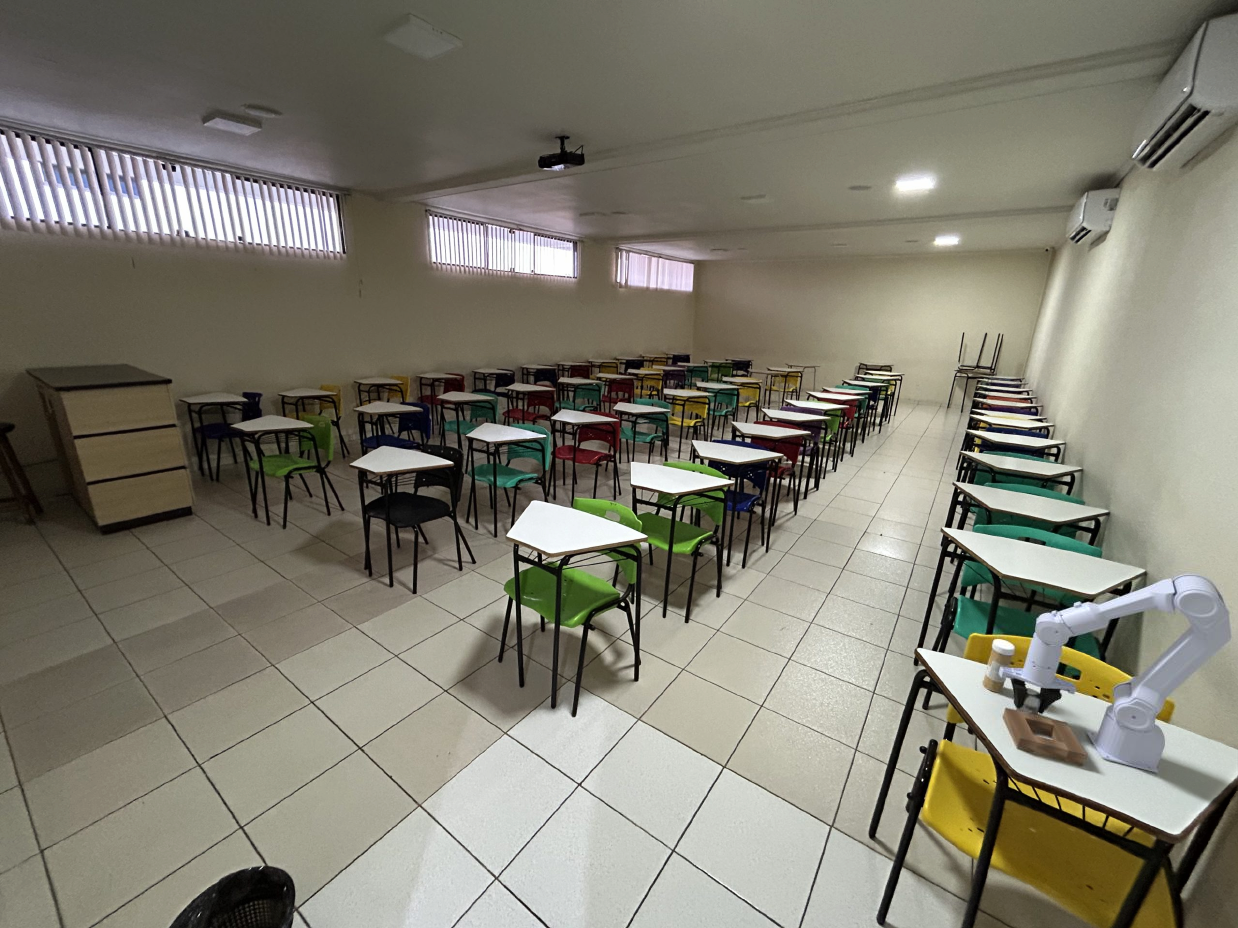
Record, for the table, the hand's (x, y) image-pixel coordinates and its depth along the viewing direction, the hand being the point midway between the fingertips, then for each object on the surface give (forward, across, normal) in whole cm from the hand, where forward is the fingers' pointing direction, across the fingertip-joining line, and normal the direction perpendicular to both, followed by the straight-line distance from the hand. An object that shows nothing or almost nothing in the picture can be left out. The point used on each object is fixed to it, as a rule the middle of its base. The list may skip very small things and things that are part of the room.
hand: (1027, 708), depth 123 cm
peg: (+2, 0, 0) cm, 2 cm away
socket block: (+2, 0, +9) cm, 9 cm away
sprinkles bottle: (+2, +5, -8) cm, 10 cm away
